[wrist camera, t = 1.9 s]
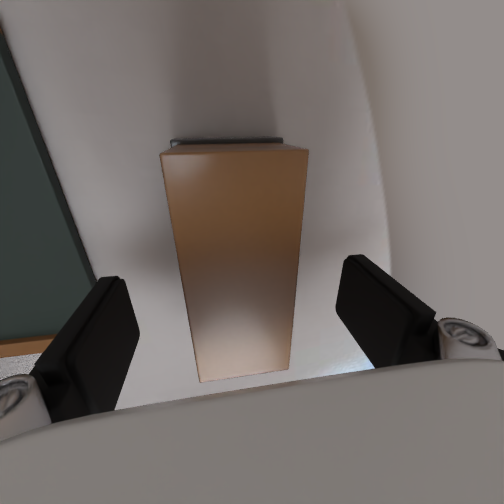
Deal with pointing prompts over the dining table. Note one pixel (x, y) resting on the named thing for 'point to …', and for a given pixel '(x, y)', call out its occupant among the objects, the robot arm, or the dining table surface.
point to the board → (33, 231)
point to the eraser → (237, 248)
